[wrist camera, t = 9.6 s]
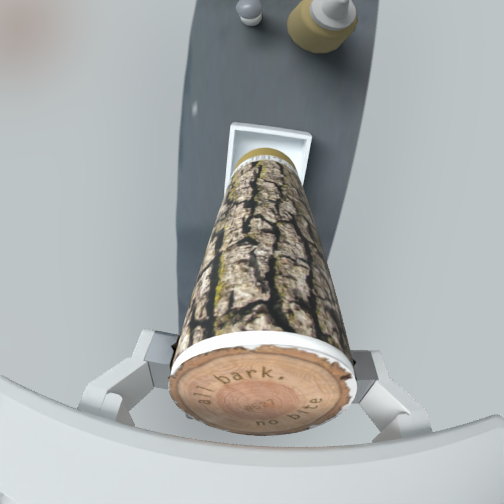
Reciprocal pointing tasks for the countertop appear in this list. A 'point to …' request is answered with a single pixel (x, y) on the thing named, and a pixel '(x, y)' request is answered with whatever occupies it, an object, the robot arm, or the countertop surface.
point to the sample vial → (250, 11)
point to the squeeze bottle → (322, 24)
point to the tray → (267, 145)
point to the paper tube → (263, 313)
